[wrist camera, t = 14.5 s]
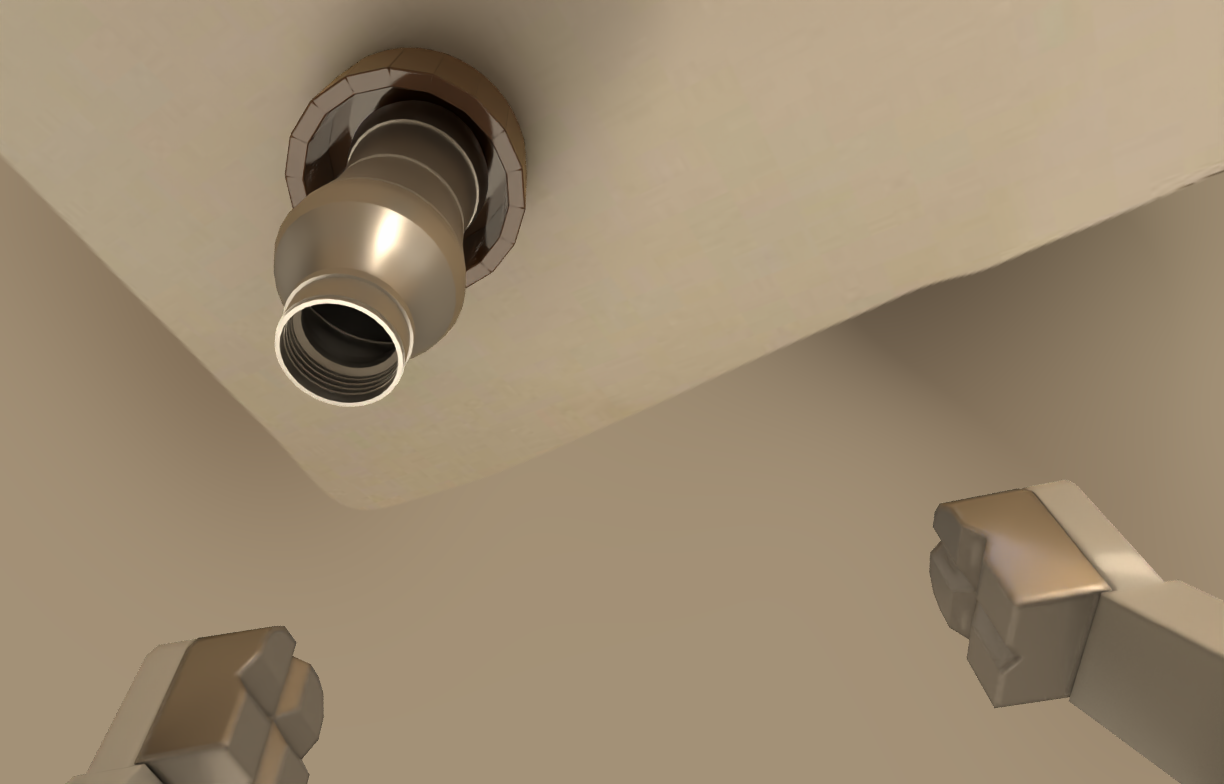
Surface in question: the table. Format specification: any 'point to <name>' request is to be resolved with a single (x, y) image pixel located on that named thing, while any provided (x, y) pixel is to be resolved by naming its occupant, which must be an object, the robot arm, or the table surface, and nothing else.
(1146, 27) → the table surface
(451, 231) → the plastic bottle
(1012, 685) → the robot arm
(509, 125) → the cup
